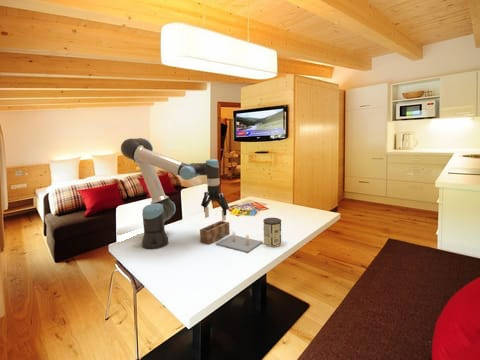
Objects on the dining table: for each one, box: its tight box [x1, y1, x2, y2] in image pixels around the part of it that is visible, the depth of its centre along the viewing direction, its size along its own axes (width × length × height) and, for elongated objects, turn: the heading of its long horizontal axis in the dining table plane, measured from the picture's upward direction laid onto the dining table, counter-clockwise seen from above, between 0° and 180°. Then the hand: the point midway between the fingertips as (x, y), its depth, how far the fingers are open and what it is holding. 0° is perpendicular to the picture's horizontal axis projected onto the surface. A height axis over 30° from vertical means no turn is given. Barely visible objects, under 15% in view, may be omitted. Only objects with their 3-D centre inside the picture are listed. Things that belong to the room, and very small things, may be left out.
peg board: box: [215, 231, 263, 254], centre depth 157 cm, size 22×16×6 cm
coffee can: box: [263, 217, 282, 248], centre depth 156 cm, size 10×10×14 cm
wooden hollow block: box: [199, 220, 231, 245], centre depth 167 cm, size 20×7×8 cm, turn 146°
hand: (215, 218), depth 166 cm, fingers open, 13 cm apart
